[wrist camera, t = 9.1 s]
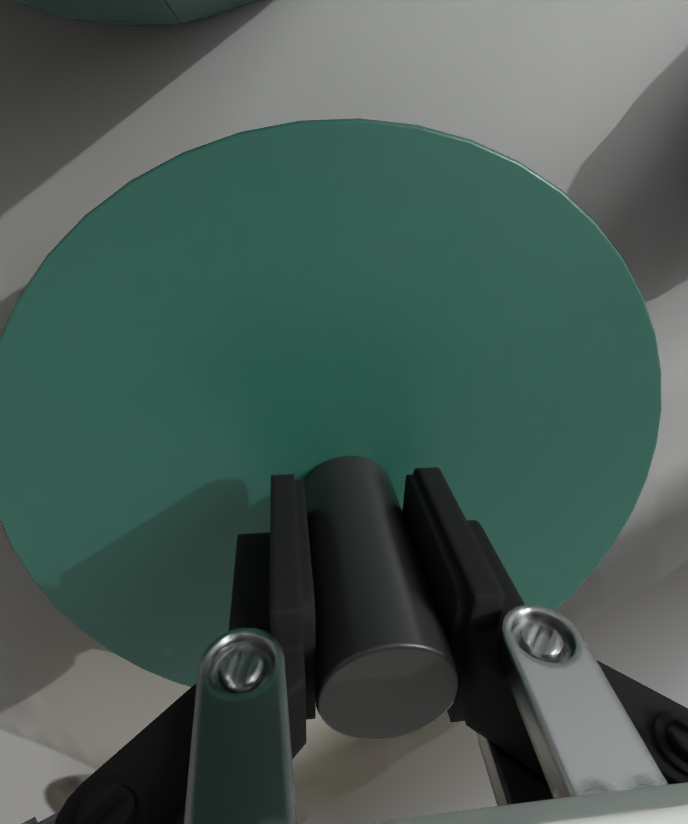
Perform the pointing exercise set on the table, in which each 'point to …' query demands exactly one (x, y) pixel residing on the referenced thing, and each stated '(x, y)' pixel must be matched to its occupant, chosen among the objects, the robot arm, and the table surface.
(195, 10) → the pot
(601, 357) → the lid
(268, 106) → the table surface
